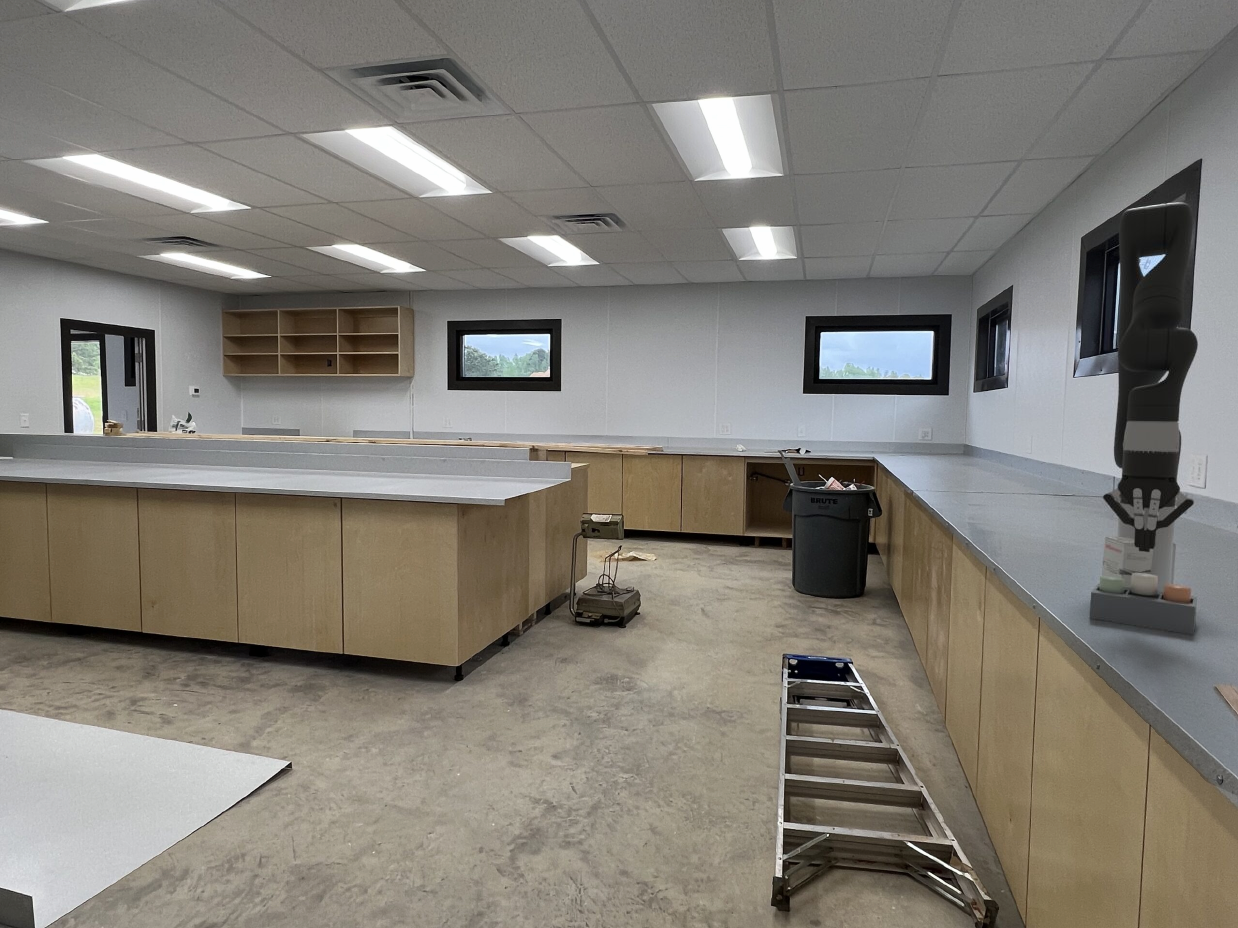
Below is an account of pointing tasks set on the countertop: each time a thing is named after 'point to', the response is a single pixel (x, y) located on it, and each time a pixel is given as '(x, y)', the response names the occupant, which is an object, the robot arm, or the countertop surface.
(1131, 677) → the countertop surface
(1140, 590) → the cream button
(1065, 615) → the countertop surface
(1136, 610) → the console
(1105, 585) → the sage button
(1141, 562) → the ink box
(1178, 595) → the terracotta button
